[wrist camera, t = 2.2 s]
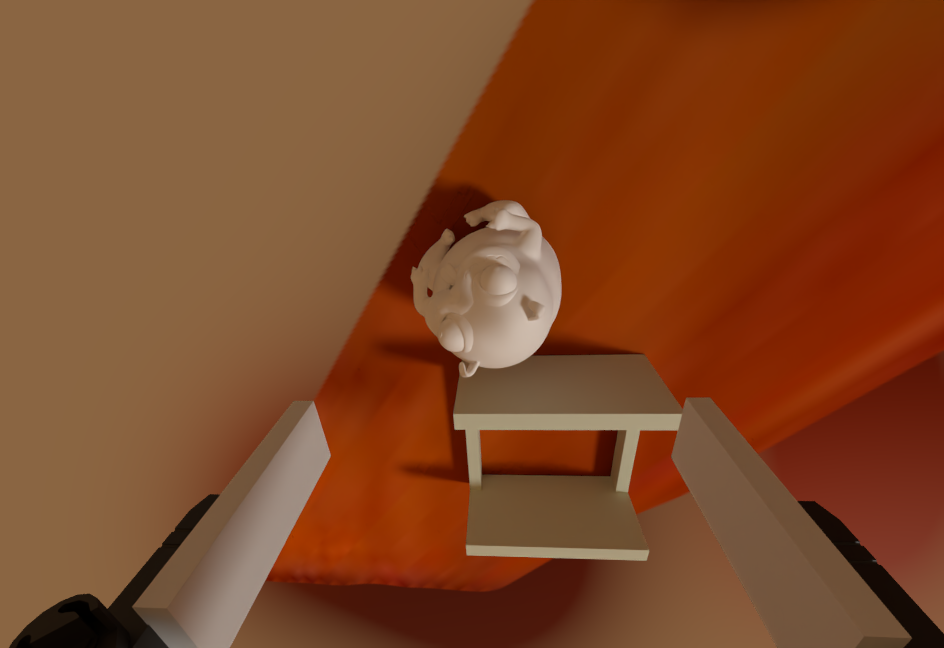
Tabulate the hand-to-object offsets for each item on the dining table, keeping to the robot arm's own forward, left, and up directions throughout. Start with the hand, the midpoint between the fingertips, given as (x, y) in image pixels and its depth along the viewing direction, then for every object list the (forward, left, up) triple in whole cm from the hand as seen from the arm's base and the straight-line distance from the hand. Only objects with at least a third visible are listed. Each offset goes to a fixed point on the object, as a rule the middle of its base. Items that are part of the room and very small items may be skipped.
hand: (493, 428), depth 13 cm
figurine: (0, 0, -19) cm, 19 cm away
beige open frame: (+17, +5, -19) cm, 26 cm away
